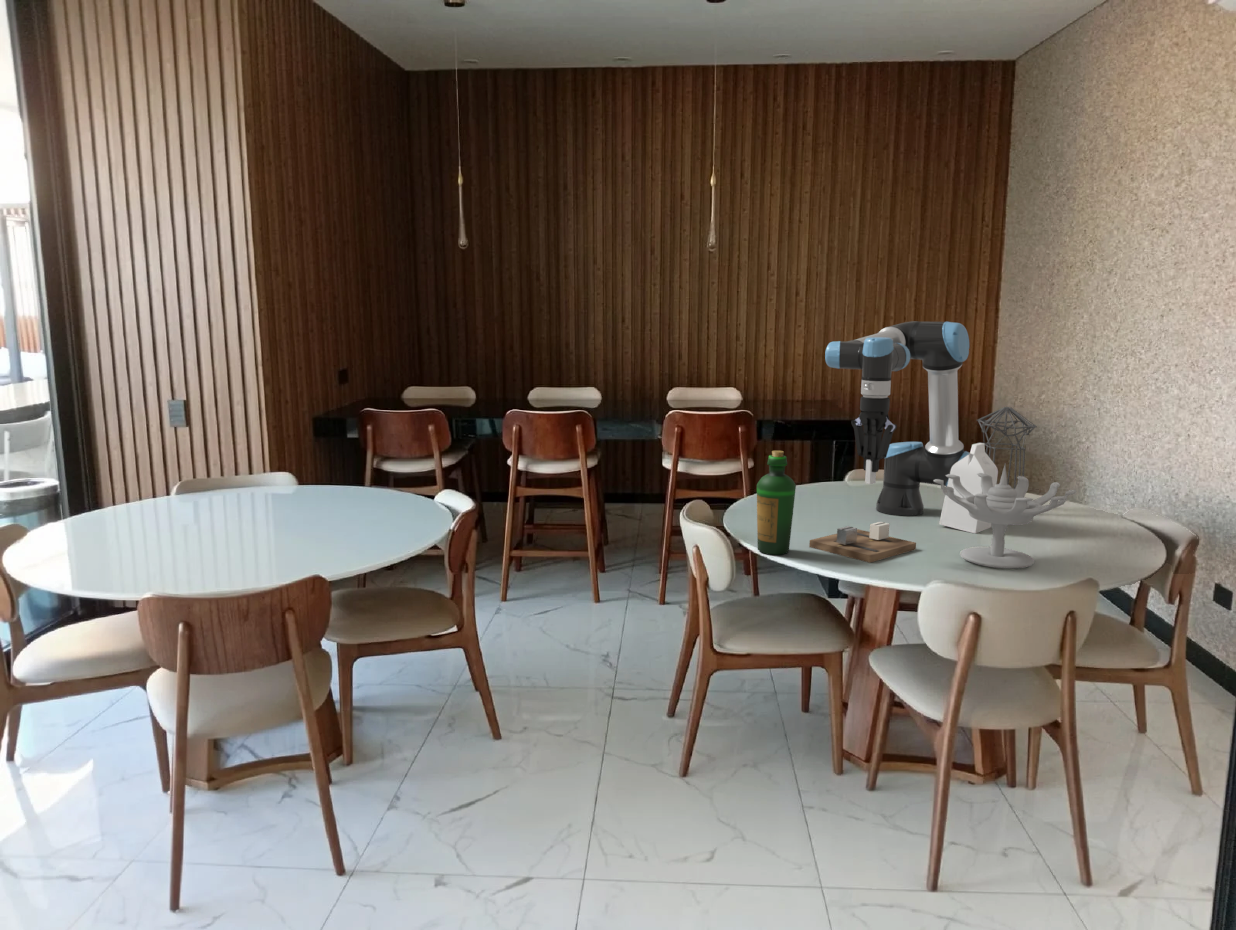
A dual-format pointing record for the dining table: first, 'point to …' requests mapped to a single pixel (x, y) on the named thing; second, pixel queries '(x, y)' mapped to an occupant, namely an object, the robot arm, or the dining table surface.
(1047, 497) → the candelabra
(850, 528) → the fader
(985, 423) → the geometric lantern
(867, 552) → the wooden board
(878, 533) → the fader
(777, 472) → the bottle
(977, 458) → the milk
